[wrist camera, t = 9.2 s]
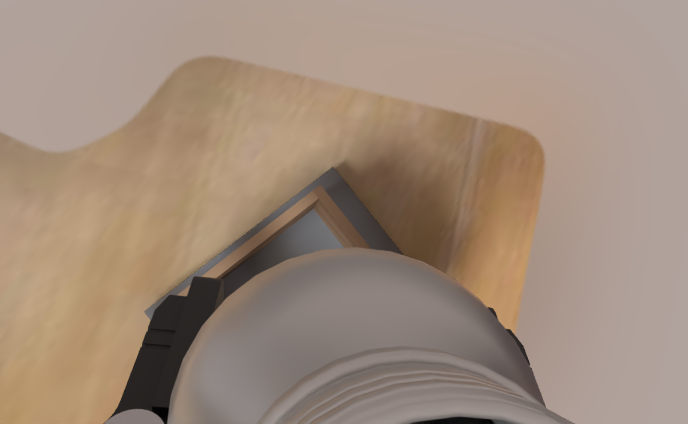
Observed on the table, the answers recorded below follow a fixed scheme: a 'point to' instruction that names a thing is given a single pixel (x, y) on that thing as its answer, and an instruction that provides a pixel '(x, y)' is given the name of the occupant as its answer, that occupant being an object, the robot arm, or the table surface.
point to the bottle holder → (295, 235)
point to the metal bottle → (355, 350)
